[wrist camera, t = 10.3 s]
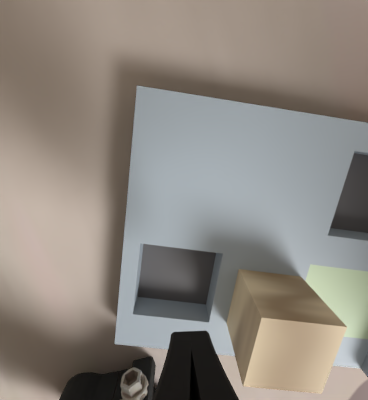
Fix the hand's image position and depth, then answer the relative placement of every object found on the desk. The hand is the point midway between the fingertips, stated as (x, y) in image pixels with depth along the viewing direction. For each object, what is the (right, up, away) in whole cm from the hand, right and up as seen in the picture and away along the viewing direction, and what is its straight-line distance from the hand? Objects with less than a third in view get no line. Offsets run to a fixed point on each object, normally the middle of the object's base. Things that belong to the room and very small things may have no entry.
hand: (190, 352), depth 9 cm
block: (+5, -1, +6) cm, 8 cm away
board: (+5, +3, +7) cm, 9 cm away
